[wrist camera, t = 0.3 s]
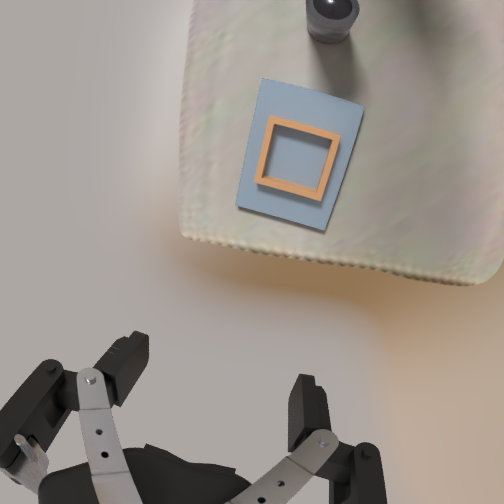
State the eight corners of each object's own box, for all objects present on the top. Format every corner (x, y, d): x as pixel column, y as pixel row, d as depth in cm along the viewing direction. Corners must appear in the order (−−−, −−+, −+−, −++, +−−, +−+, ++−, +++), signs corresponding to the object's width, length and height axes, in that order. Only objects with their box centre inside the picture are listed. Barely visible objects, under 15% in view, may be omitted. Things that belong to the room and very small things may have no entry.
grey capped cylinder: (300, 17, 24) (296, -9, 16) (336, 6, 22) (343, -20, 14) (318, 48, 26) (321, 30, 18) (354, 38, 24) (368, 19, 16)
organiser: (263, 79, 30) (259, 76, 27) (362, 106, 29) (367, 106, 26) (237, 202, 39) (231, 210, 37) (324, 226, 38) (324, 236, 36)
